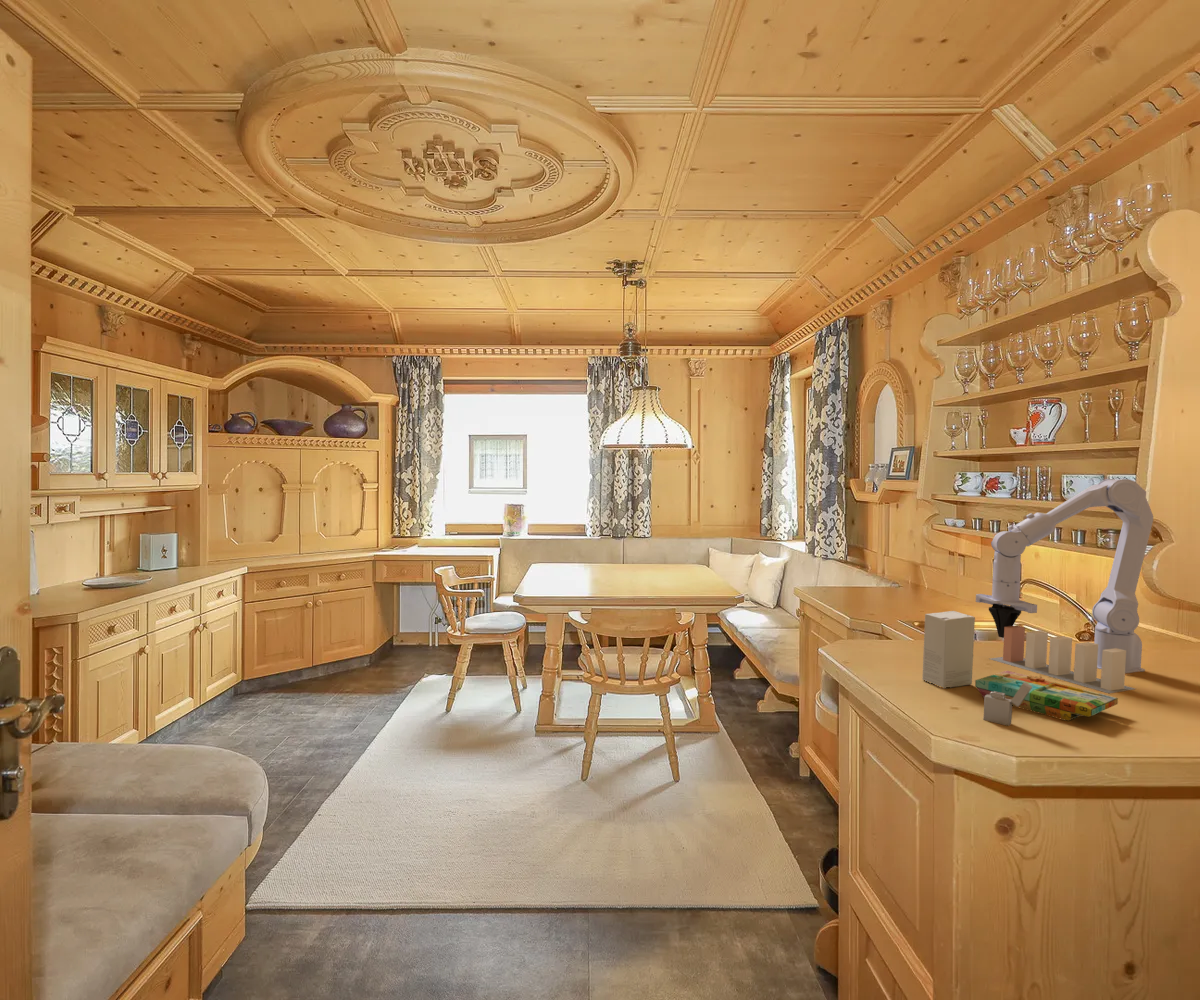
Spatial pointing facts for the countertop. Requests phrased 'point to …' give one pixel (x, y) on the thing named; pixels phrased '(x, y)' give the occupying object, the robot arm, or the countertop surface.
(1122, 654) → the domino
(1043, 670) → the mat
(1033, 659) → the domino
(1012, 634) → the domino
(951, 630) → the skincare box
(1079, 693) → the puzzle game
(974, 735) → the countertop surface
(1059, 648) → the domino
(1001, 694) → the lighter
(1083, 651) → the domino
